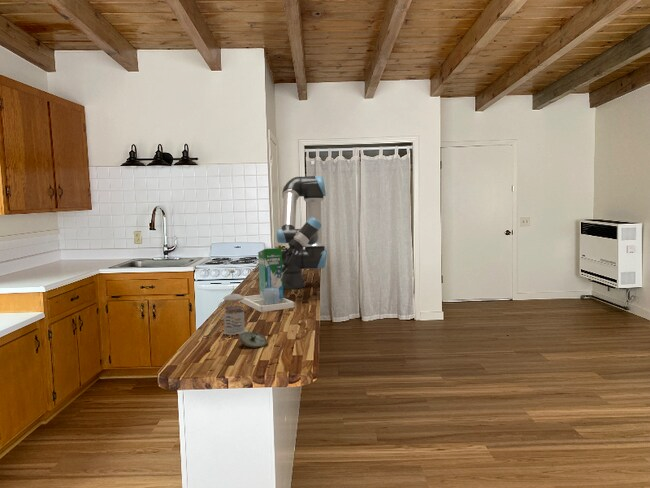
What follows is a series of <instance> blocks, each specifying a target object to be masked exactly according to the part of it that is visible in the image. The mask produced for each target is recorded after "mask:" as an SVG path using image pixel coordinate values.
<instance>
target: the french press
mask: <svg viewBox="0 0 650 488" xmlns="http://www.w3.org/2000/svg"><path fill="white" fill-rule="evenodd" d="M235 272H236V271H235V269H231V270H230V271H229V273H231V274H232V275H231V276H232V278H234V273H235ZM234 291H235V290H234V287H232V293H231V294H227V295H225V296H224V297H223V301H221V302H219V303H218V306H217V311H218V312H217V314H218V316H219V318H220V319H222V320H224V330H223V331H222V334H224V335H226V334H227V335H228V336H236V334H238V335H240V334H241V333H243V332H248V329H246V328H245V325H246V323H245V310H243V309H244V307H243V306H242V305H231V306H226V307H225V308H224V310H226V311H223V313H224V316H223V315H222V313H221V305H222V303H223V305H224V306H225V305H227V301H229V302H230V301H231V302H232V301H233V302H235V301H236V302H237V301H241V300H242V299H243V298H244V296H243V295H242V294H240V293H239V294H238V293H235V292H234ZM227 335H226V336H227Z"/></svg>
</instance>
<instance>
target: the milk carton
mask: <svg viewBox="0 0 650 488" xmlns="http://www.w3.org/2000/svg"><path fill="white" fill-rule="evenodd" d="M282 251H283V249H282V247H276V248H273V247H265V248H264V249H262V250H260V251H258V252H257V255H258V259H257V260H258V277H259V278H258V280H259V284H258V285H259V295H260V298H262V299H264V288H268V287H278V288H279V299H282V298H284V289H283V272H282Z"/></svg>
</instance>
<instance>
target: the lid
mask: <svg viewBox="0 0 650 488" xmlns="http://www.w3.org/2000/svg"><path fill="white" fill-rule="evenodd" d="M238 340H239V342H240V343H241V344H243V345H244V346H246V347H247V348H252V349H256V348H257V349H259V348H263V347H265V346H267V343H268V339H267V338H266V336H265V335H263V334H261V333H259V332H256V331H247V332H243V333H241V334H238Z"/></svg>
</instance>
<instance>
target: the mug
mask: <svg viewBox="0 0 650 488" xmlns="http://www.w3.org/2000/svg"><path fill="white" fill-rule="evenodd" d="M264 300H265V306H266V305H273V304H279V288H278V287H268V288H264Z"/></svg>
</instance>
